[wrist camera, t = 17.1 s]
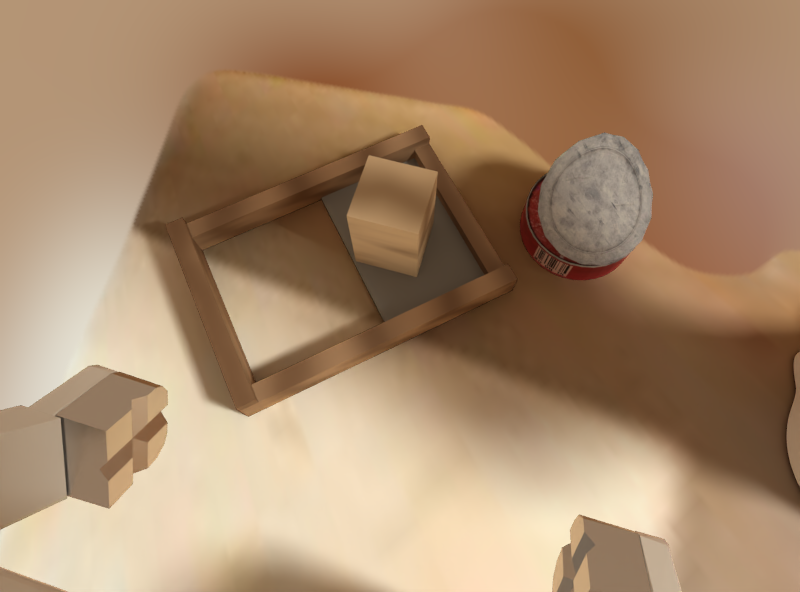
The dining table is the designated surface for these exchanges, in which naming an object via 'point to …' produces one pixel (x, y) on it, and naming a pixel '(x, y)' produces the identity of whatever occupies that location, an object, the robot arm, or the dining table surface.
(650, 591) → the robot arm
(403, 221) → the tan wooden block
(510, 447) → the dining table surface
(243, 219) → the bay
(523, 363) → the dining table surface
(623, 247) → the canned food
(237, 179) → the dining table surface
